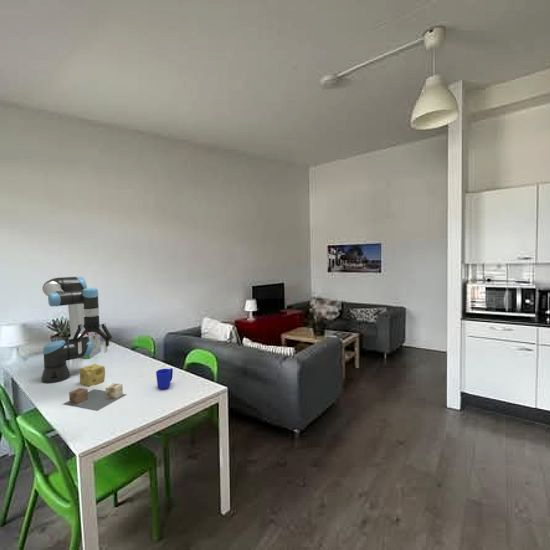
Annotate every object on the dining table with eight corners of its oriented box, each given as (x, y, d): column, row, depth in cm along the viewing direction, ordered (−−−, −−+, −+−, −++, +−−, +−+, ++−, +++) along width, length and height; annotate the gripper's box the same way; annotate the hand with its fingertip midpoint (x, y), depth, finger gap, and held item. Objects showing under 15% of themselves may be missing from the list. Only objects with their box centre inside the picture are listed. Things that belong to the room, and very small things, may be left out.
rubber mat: (61, 404, 171) (61, 404, 171) (94, 389, 190) (94, 389, 190) (97, 411, 164) (97, 410, 164) (127, 395, 183) (127, 394, 183)
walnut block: (69, 403, 172) (69, 392, 172) (79, 398, 178) (79, 387, 178) (78, 404, 170) (77, 393, 170) (88, 400, 176) (87, 389, 176)
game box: (94, 351, 267) (92, 318, 265) (101, 350, 268) (99, 318, 266) (81, 359, 246) (80, 323, 245) (89, 359, 247) (88, 323, 245)
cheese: (88, 387, 194) (88, 371, 193) (79, 383, 200) (78, 367, 199) (105, 381, 203) (105, 365, 202) (96, 378, 208) (95, 363, 208)
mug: (178, 383, 199) (177, 367, 198) (165, 391, 188) (164, 374, 187) (166, 381, 202) (166, 365, 201) (153, 389, 190) (152, 372, 190)
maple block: (105, 398, 178) (105, 387, 178) (112, 393, 184) (112, 383, 183) (116, 399, 177) (115, 388, 177) (122, 394, 183) (122, 383, 183)
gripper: (64, 317, 179) (66, 355, 180) (112, 316, 182) (114, 353, 184) (70, 315, 186) (72, 351, 187) (117, 313, 190) (118, 349, 191)
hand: (93, 352), depth 186 cm, fingers open, 13 cm apart
